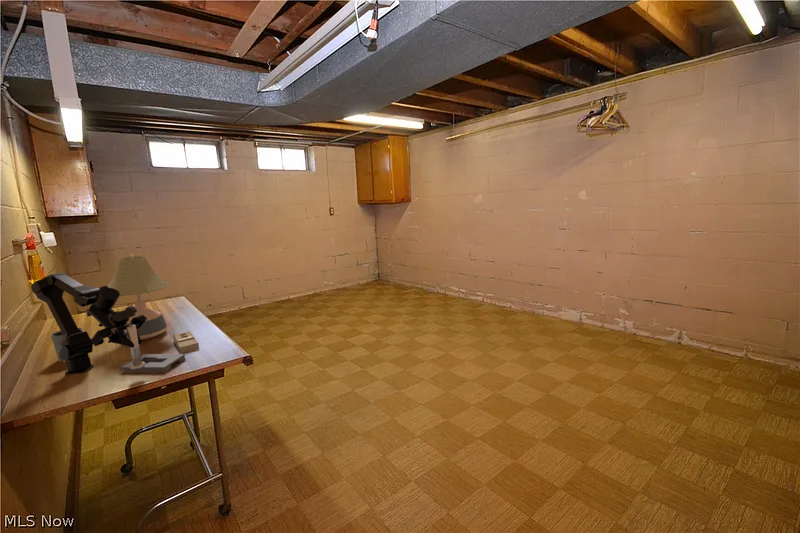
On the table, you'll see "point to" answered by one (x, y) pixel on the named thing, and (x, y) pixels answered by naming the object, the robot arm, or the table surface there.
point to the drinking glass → (58, 342)
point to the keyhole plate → (156, 362)
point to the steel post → (134, 348)
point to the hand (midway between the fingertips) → (137, 345)
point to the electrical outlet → (185, 341)
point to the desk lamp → (140, 292)
